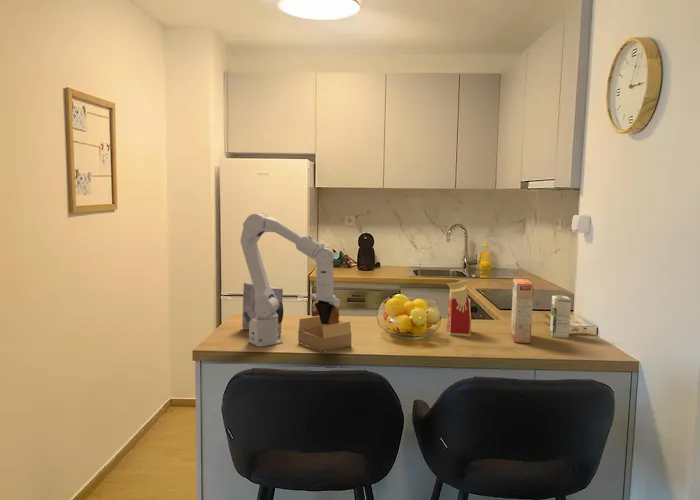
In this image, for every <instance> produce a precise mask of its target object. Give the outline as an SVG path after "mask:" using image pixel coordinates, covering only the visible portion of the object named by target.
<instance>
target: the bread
mask: <svg viewBox="0 0 700 500" xmlns="http://www.w3.org/2000/svg"><path fill="white" fill-rule="evenodd" d="M315 303H318V301H317V300H315V301H313V302H312V303H311V317H314V316H319V313H318V310H317V308H316V306H315ZM339 319H340V305H338V306H334V308H333V310H332V312H331V315H330V319H329V323H328V324H326V325H332V324H338V323H340V322H339V321H340V320H339Z"/></svg>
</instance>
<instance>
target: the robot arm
mask: <svg viewBox="0 0 700 500" xmlns="http://www.w3.org/2000/svg"><path fill="white" fill-rule="evenodd" d="M242 227H243V228H242V232H241V235H240V236H241V237H240V245H241V248H242V252H243V255H244V260H245V262H246V266H247V269H248V272H249V275H250V278H251V282H252V283H253V286H254V289H255V297H254V299H255V312H256V314H257V317H256V318H255V319H251V320H250V322H249V330H248V341H247V342H248V343H249V342H250V344H251V345H254V346H256V347H259V348H260V347H266V346H270V345H278V344H282V343H284V341H283V340H282V339H279V336H278V314H277V312H276V311H277V310H278V309H279V305H280V304H279V300H278V299H277V297H276V296H275V295H274V292H273V290H272V289H271V288H270V286H271V285H270V283H269V280H268V276H267V272H266V269H265V267H264V263H263V259H262V256H261V253H260V250H259V245H258V242H259V240H260V238H261V237H262V235H263V234H264V233H276V234H278V235H279V236H281V237H283V238H284V239H286V240H288V241H290V242H291V243H293V244H295V248H296V250H297V251H299V252H301V253H302V254H304V255H305V256H307V257H309V258H311V259H312V260H314V261H315V263H316V271H315V273H316V276H315V277H316V286H315V287H316V289H315V291H316V293H310V299H309V300H312V301H314V300H315V301H318V303H315V306H316V308H317V310H318V313H319V316H320V320H321V324H328V323H329V319H330V315H331V312H332V310H333V308H334V306H338V305H339V306H341V299H340V298H337V295H335V294H334V263H333V261H335V258H336V257H335V252H334V250H333V249H332V248H331V247H329V246H325V244H324V243H320V242H318V241H317V240H315V239H314V237H313V236H312V235H310V234H309V235H308V234H303V235H300V234H298V233H297V232H296V231H294V230H292V229H291V228H290V227H288V226H287V225H285V224H284V223H282V222H281V221H279V220H278V219H276V218H275V217H273V216H269V215H268V214H266V213H264V212H260V213H252V214H250V215H248V216H247V217H246V218H245V220H244V221H243V223H242Z"/></svg>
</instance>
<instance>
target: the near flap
mask: <svg viewBox="0 0 700 500" xmlns="http://www.w3.org/2000/svg"><path fill="white" fill-rule="evenodd" d="M322 329H323V339H324V338H330V337H336V336H341V335H347V334H351V335H352V329H351V321H346V322H345V321H344V322H339V323H338V324H332V325H326V326H322Z"/></svg>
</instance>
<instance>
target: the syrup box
mask: <svg viewBox="0 0 700 500" xmlns="http://www.w3.org/2000/svg"><path fill="white" fill-rule="evenodd" d="M571 306H572V298H570V297H568V296H566V295H552V296H551V310H550V322H549V323H550V324H549V325H550V326H549V334H550V335H551V336H552V338H564V339H565V338H567V339H568V338H569V337H570V324H571V323H570V321H571Z"/></svg>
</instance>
